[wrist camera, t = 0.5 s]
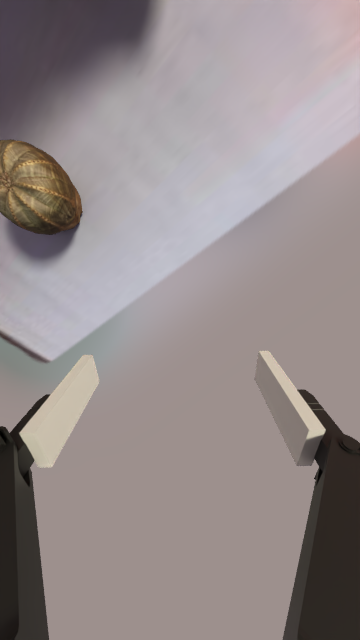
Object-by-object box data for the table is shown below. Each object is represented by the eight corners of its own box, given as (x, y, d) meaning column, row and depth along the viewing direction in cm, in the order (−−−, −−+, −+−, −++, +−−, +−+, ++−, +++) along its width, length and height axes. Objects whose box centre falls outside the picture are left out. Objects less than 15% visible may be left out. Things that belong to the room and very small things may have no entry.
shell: (105, 207, 35) (69, 195, 24) (65, 246, 38) (16, 251, 27) (57, 145, 31) (-10, 98, 20) (17, 192, 34) (-62, 173, 23)
